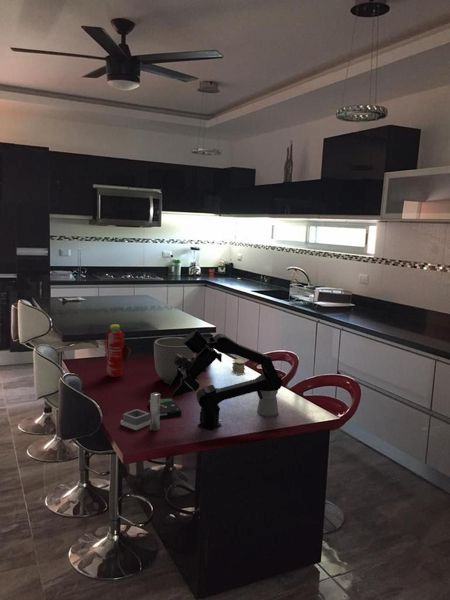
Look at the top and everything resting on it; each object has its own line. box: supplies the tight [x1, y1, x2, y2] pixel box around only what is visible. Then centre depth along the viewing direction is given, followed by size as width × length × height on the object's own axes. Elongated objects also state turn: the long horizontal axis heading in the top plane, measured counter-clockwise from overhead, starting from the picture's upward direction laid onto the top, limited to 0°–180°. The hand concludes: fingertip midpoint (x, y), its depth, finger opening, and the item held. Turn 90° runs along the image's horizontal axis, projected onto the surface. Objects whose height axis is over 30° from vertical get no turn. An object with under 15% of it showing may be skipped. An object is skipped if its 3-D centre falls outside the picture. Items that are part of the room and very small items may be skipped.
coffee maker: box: [256, 390, 279, 417], centre depth 202 cm, size 15×9×18 cm, turn 141°
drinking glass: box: [149, 392, 161, 432], centre depth 183 cm, size 3×3×13 cm
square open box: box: [120, 408, 150, 431], centre depth 187 cm, size 8×8×4 cm
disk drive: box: [147, 397, 182, 419], centre depth 202 cm, size 10×3×15 cm
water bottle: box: [104, 323, 132, 378], centre depth 243 cm, size 12×8×25 cm, turn 116°
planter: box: [153, 336, 197, 385], centre depth 237 cm, size 20×20×19 cm
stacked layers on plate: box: [231, 358, 246, 374], centre depth 259 cm, size 10×9×6 cm
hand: (171, 392), depth 183 cm, fingers open, 9 cm apart
